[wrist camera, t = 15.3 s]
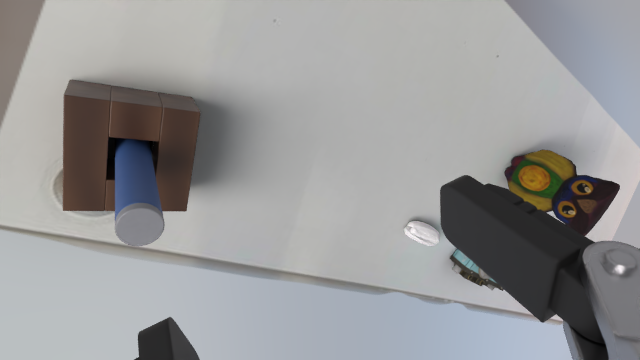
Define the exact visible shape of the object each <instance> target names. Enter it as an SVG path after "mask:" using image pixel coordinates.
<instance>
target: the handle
mask: <svg viewBox="0 0 640 360" xmlns="http://www.w3.org/2000/svg"><path fill="white" fill-rule="evenodd" d="M163 230H164V218H163V213H162V208H161V203H160V197H159V192H158V187H157V181H156V176H155V171H154V166H153V160H152V155H151V150H150V145H149V141H148V140H136V139H125V138H115V232H116V235H117V236H118V238H119V239H120V240H121V241H122V242H124V243H126V244H128V245H132V246H143V245H147V244H150V243H152V242H154V241H155V240H157V239H158V238H159V237H160V236H161V234H162V232H163Z"/></svg>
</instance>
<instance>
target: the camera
mask: <svg viewBox="0 0 640 360" xmlns="http://www.w3.org/2000/svg"><path fill="white" fill-rule="evenodd" d="M450 259H451V260H452V261H453V262H454V263H455V265H454V267H453V268H452V269H453V271H455V272H456V273H458V274H460V275H462V276H463V277H464V278H465V279H467V280H470V281H472V282H474V283H476V284H478V285H480V286H482V285H485V286H487V287H488V288H489V289H491V290H493V289H494V288H498V289H500V290H502V291H503V290H504V289H503V288H502V287H501V286H500V285H499V284H497V283H496V282H495V281H494V280H493V279H492V278H491V277H489V276H488V275H487V274H486V273H485V272H484V271H483V270H481V269H480V268H479V267H478V266H477V265H476V264H475V263H473V262H472V261H471V260H470V259H469V258H468V257H467V256H465V255H464V254H463V253H462V252H461V251H460V250H459V249H457V250H456V251H455V253H454V254H453V255H452V256H451V258H450Z"/></svg>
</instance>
